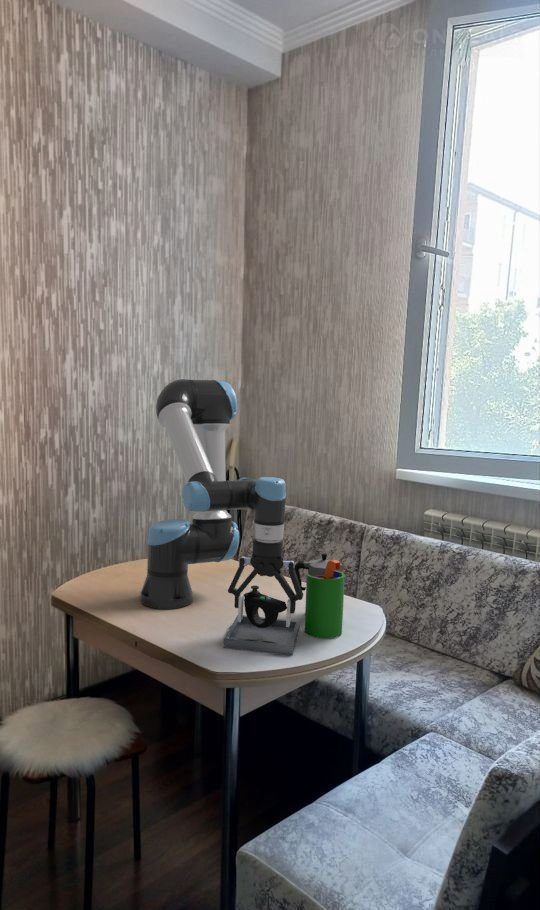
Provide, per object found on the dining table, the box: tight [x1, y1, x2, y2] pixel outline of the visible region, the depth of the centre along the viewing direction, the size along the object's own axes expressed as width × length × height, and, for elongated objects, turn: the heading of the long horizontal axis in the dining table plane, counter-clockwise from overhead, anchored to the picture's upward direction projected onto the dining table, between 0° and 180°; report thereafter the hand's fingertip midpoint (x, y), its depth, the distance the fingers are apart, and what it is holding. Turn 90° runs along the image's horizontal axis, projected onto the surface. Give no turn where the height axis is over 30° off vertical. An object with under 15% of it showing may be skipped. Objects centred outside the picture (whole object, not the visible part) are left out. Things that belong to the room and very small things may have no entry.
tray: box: [223, 614, 301, 656], centre depth 176 cm, size 17×17×2 cm
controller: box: [243, 585, 287, 628], centre depth 175 cm, size 4×12×10 cm, turn 52°
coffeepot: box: [294, 553, 347, 592], centre depth 194 cm, size 15×9×18 cm, turn 101°
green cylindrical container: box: [304, 559, 346, 639], centre depth 181 cm, size 10×9×20 cm
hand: (264, 622), depth 175 cm, fingers closed on controller, 12 cm apart
